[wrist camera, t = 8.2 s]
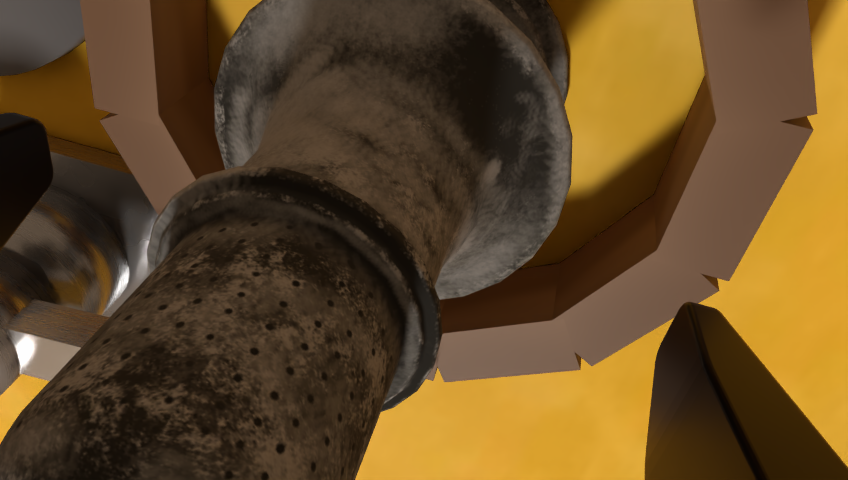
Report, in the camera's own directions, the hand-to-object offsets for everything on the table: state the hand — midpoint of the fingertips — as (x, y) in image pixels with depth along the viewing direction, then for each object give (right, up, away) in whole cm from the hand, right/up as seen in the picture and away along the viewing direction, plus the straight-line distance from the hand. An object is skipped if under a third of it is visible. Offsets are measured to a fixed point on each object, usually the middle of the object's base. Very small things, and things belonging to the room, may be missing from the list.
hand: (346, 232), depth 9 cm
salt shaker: (+1, +3, +5) cm, 6 cm away
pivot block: (-8, 0, +10) cm, 13 cm away
